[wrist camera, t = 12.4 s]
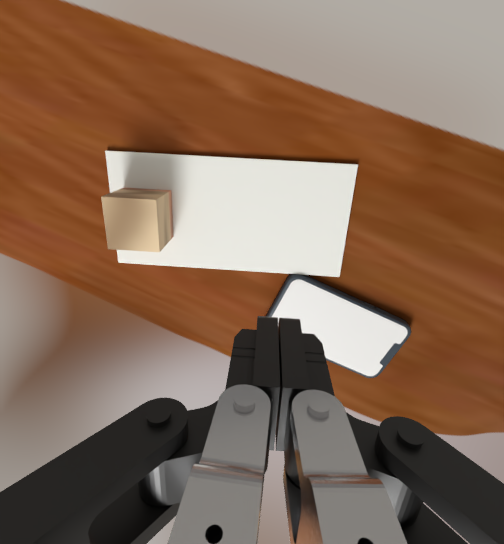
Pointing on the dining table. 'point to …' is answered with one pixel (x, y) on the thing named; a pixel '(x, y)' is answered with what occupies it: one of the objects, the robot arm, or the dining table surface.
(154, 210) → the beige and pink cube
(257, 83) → the dining table surface
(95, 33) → the dining table surface
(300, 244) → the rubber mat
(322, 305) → the phone case
